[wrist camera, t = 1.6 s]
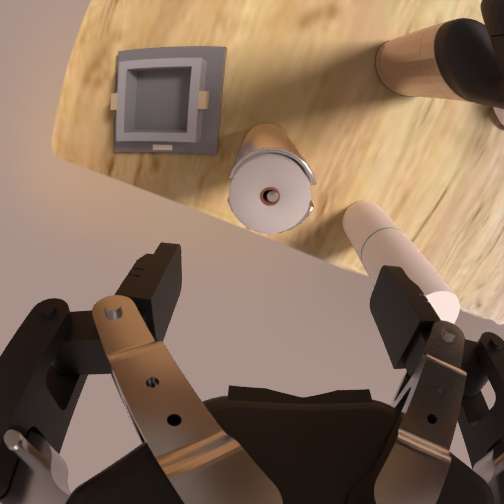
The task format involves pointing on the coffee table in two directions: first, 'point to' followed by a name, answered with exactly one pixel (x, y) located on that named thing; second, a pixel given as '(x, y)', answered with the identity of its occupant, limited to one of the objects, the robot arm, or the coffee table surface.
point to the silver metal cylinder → (270, 182)
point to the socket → (169, 99)
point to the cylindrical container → (395, 255)
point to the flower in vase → (499, 114)
